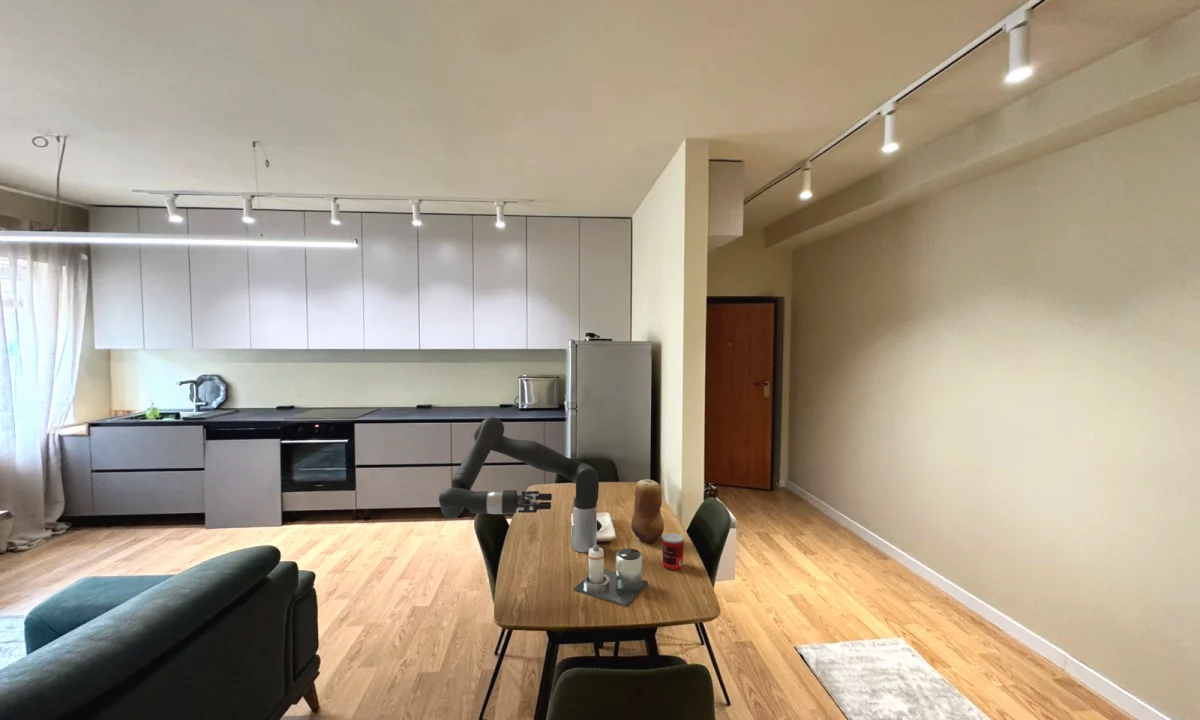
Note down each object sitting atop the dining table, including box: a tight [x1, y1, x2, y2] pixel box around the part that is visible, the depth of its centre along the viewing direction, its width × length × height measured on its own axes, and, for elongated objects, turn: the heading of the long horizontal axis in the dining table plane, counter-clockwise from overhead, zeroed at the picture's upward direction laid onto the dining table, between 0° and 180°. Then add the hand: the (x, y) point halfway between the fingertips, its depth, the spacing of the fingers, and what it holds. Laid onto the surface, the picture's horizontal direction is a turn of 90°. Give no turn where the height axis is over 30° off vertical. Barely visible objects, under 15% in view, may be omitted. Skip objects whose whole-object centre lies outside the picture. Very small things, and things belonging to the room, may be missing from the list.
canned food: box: [662, 532, 685, 572], centre depth 182 cm, size 8×8×11 cm
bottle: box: [588, 544, 605, 584], centre depth 166 cm, size 5×5×14 cm
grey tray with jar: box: [573, 548, 650, 608], centre depth 166 cm, size 20×17×12 cm
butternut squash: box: [630, 478, 665, 544], centre depth 205 cm, size 14×13×25 cm
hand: (551, 501), depth 164 cm, fingers open, 8 cm apart
